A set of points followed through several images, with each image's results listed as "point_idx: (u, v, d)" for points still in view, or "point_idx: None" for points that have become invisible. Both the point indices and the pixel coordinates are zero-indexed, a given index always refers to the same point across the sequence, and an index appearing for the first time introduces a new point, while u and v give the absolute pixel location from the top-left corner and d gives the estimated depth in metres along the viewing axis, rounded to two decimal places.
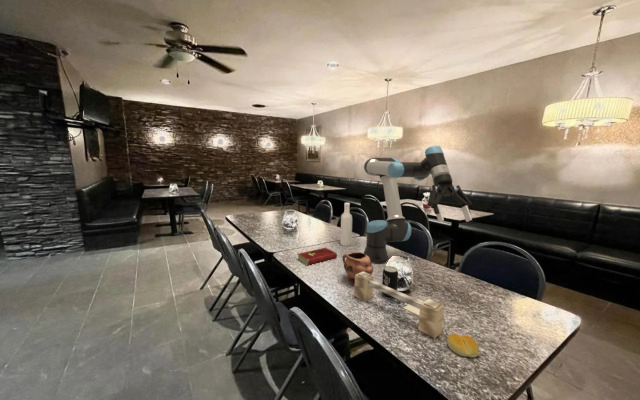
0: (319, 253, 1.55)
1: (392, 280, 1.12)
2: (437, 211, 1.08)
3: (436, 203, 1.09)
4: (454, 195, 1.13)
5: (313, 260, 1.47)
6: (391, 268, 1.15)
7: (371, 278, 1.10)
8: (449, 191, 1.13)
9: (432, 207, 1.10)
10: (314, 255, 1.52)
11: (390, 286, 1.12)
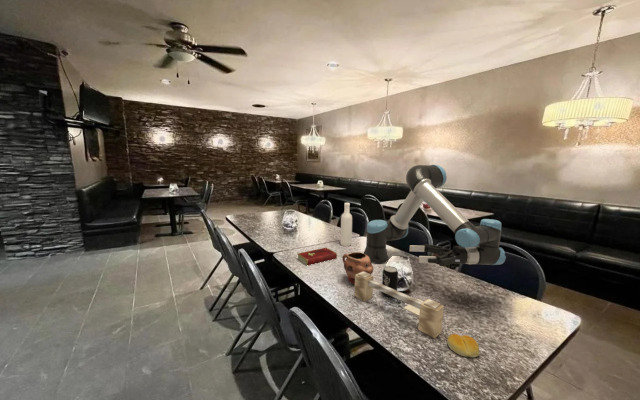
0: (319, 253, 1.55)
1: (392, 280, 1.12)
2: None
3: None
4: (438, 253, 1.15)
5: (313, 260, 1.47)
6: (391, 268, 1.15)
7: (371, 278, 1.10)
8: None
9: (437, 258, 1.04)
10: (314, 255, 1.52)
11: (390, 286, 1.12)
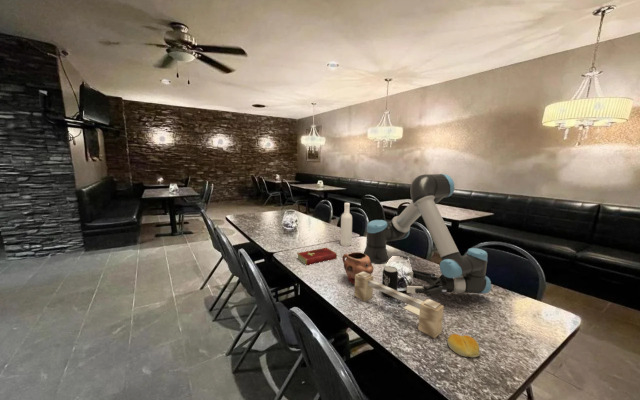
0: (319, 253, 1.56)
1: (392, 280, 1.12)
2: None
3: None
4: (426, 280, 1.17)
5: (312, 259, 1.48)
6: (391, 268, 1.15)
7: (371, 278, 1.10)
8: None
9: (424, 289, 1.06)
10: (313, 255, 1.52)
11: (390, 286, 1.12)
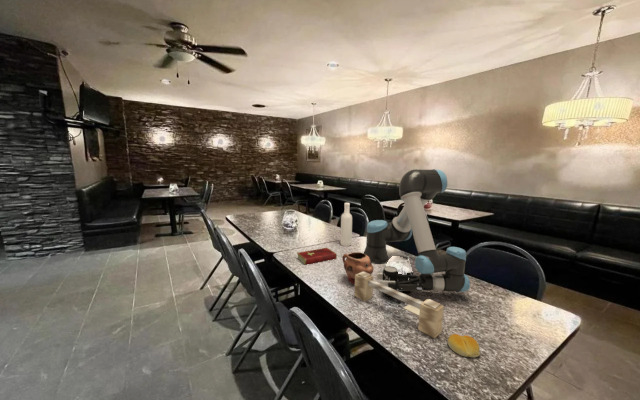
0: (318, 253, 1.56)
1: (392, 280, 1.12)
2: None
3: None
4: (406, 280, 1.17)
5: (311, 259, 1.48)
6: (391, 268, 1.15)
7: (371, 278, 1.10)
8: None
9: (396, 283, 1.10)
10: (313, 255, 1.53)
11: None
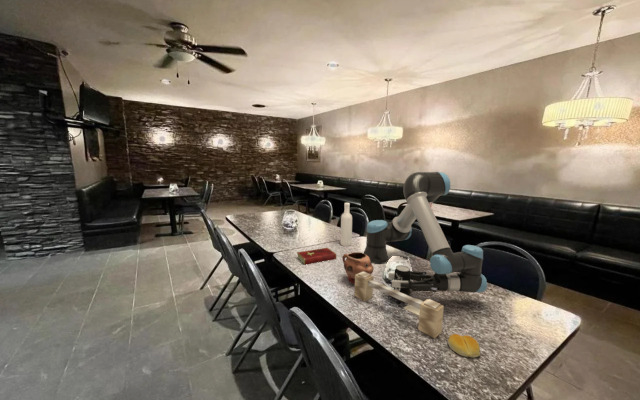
0: (318, 253, 1.56)
1: (405, 280, 1.06)
2: None
3: None
4: (419, 280, 1.11)
5: (311, 259, 1.48)
6: (403, 267, 1.10)
7: (371, 278, 1.10)
8: None
9: (409, 283, 1.05)
10: (312, 254, 1.53)
11: None
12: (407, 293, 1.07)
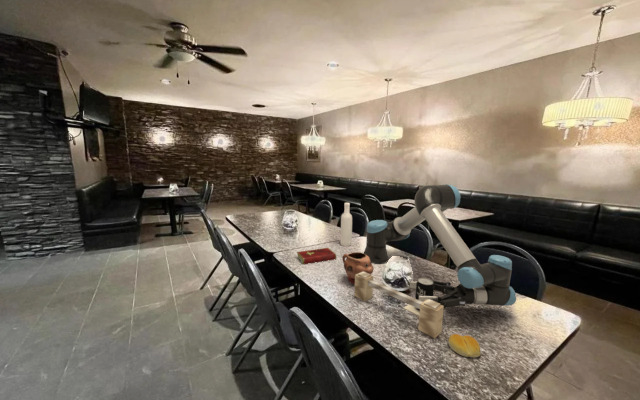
0: (318, 253, 1.56)
1: (428, 294, 1.00)
2: None
3: None
4: (442, 290, 1.05)
5: (310, 259, 1.48)
6: (425, 280, 1.04)
7: (371, 278, 1.10)
8: None
9: (438, 299, 0.96)
10: (312, 254, 1.53)
11: None
12: None
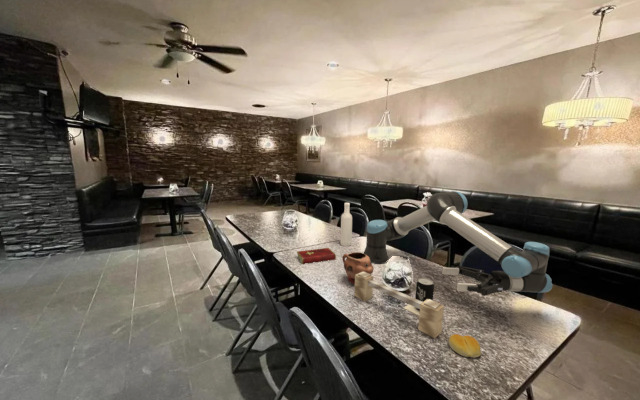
0: (318, 253, 1.56)
1: (428, 294, 1.00)
2: None
3: None
4: (475, 277, 1.05)
5: (309, 259, 1.49)
6: (425, 280, 1.04)
7: (371, 278, 1.10)
8: None
9: (478, 286, 0.94)
10: (312, 254, 1.53)
11: None
12: None
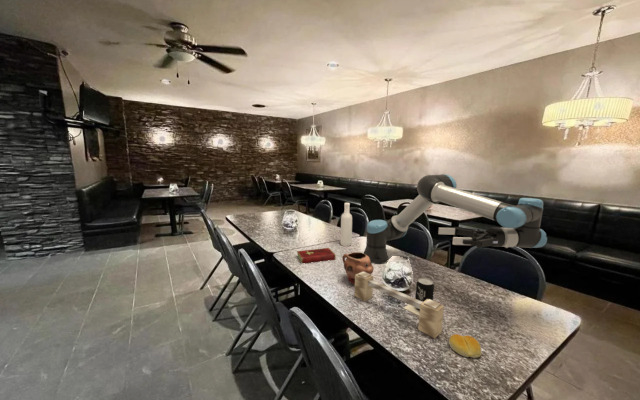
0: (317, 252, 1.56)
1: (428, 294, 1.00)
2: None
3: None
4: (471, 235, 1.06)
5: (308, 258, 1.49)
6: (425, 280, 1.04)
7: (371, 278, 1.10)
8: None
9: (473, 239, 0.95)
10: (311, 254, 1.54)
11: None
12: None
